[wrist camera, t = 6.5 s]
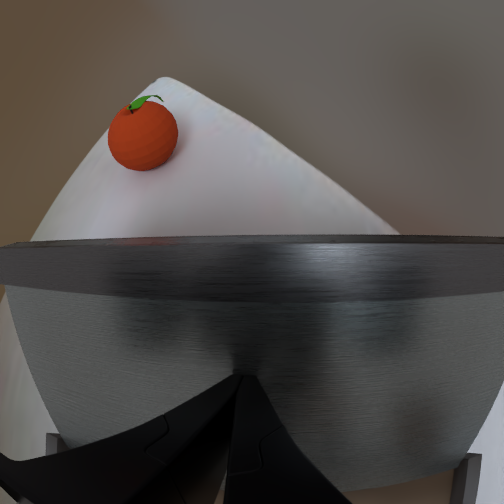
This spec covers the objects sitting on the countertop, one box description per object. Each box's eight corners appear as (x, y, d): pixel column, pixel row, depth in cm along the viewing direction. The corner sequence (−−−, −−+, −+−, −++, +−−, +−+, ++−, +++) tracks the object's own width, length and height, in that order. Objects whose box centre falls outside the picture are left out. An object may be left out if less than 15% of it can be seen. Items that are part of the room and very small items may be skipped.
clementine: (150, 133, 31) (130, 83, 25) (201, 135, 29) (186, 79, 23) (112, 182, 27) (81, 130, 21) (165, 189, 26) (137, 128, 20)
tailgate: (458, 470, 9) (542, 244, 6) (65, 449, 11) (-7, 248, 9) (450, 452, 10) (518, 237, 8) (77, 434, 13) (17, 242, 11)
